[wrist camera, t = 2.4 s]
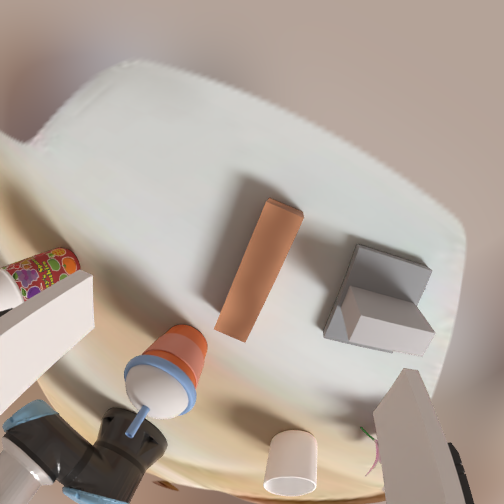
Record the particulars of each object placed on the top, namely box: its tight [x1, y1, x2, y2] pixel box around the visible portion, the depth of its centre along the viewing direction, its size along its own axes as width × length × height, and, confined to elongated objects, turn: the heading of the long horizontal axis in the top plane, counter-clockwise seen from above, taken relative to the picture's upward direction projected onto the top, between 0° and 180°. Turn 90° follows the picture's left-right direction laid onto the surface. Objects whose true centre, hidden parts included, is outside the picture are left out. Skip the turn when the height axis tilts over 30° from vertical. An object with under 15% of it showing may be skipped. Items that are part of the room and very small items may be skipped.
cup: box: [263, 430, 317, 496], centre depth 38 cm, size 8×12×10 cm
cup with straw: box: [124, 325, 207, 438], centre depth 30 cm, size 9×9×18 cm
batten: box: [214, 198, 304, 342], centre depth 32 cm, size 4×16×4 cm, turn 159°
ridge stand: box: [323, 244, 435, 357], centre depth 29 cm, size 10×12×8 cm
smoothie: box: [0, 248, 81, 311], centre depth 30 cm, size 8×8×20 cm
